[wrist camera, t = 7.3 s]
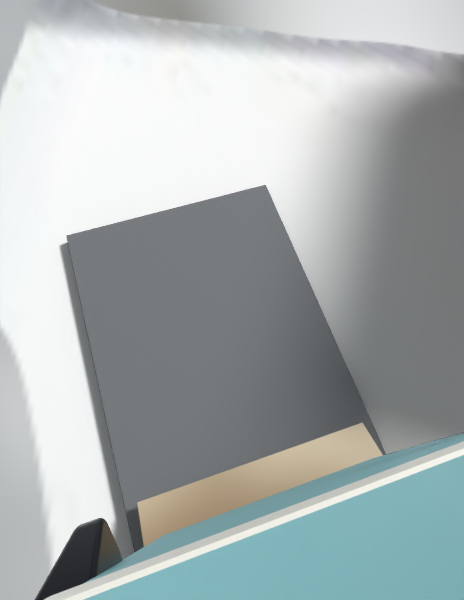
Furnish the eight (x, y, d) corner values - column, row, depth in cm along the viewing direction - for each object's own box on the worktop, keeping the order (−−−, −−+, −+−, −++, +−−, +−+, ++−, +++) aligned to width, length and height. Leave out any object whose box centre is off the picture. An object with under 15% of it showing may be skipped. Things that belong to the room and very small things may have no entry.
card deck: (404, 530, 13) (869, 602, 4) (181, 619, 12) (45, 1033, 3) (372, 456, 14) (686, 364, 4) (161, 534, 12) (4, 621, 3)
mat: (584, 912, 11) (596, 926, 11) (257, 1105, 10) (258, 1128, 10) (264, 190, 20) (265, 184, 20) (69, 240, 19) (66, 235, 19)
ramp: (420, 577, 14) (469, 597, 12) (182, 677, 13) (172, 728, 10) (354, 426, 16) (384, 411, 13) (141, 502, 15) (123, 503, 12)
